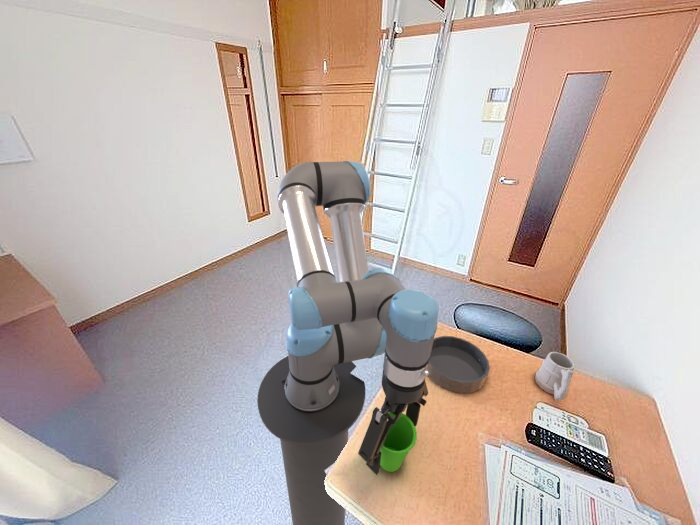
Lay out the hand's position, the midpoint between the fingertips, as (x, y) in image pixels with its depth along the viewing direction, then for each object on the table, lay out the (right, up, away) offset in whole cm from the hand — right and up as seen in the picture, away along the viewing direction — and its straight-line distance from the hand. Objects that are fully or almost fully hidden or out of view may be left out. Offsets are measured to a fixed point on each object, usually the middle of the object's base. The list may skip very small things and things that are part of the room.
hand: (393, 443), depth 60 cm
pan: (+23, +6, +27) cm, 36 cm away
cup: (0, -6, +4) cm, 7 cm away
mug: (+48, +2, +21) cm, 53 cm away
